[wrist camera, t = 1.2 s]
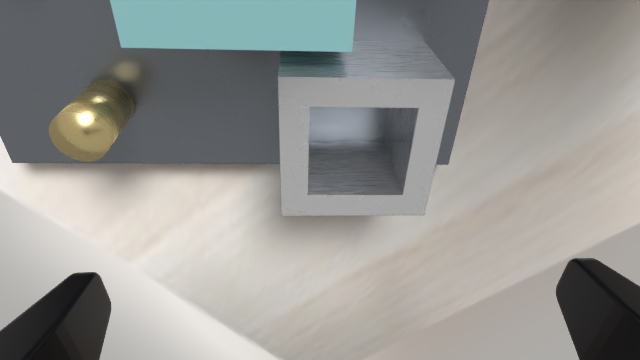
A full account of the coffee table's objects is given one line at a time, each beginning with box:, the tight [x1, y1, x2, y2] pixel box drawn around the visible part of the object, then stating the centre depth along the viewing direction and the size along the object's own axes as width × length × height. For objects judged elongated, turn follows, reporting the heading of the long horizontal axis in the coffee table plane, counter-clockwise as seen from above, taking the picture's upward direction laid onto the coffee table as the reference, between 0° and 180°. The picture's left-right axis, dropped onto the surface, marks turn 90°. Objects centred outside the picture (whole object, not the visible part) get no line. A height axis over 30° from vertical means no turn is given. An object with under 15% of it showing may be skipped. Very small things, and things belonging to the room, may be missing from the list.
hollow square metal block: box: [278, 40, 455, 216], centre depth 16 cm, size 6×6×4 cm
